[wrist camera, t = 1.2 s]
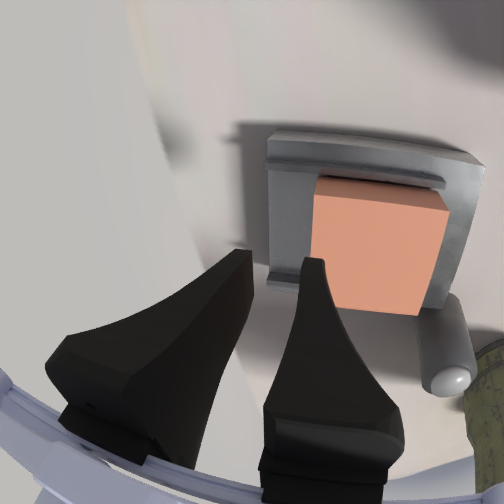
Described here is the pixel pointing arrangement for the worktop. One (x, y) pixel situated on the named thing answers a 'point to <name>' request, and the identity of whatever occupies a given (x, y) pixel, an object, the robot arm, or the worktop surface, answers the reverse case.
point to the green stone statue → (487, 416)
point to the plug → (445, 349)
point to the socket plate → (365, 169)
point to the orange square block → (377, 242)
